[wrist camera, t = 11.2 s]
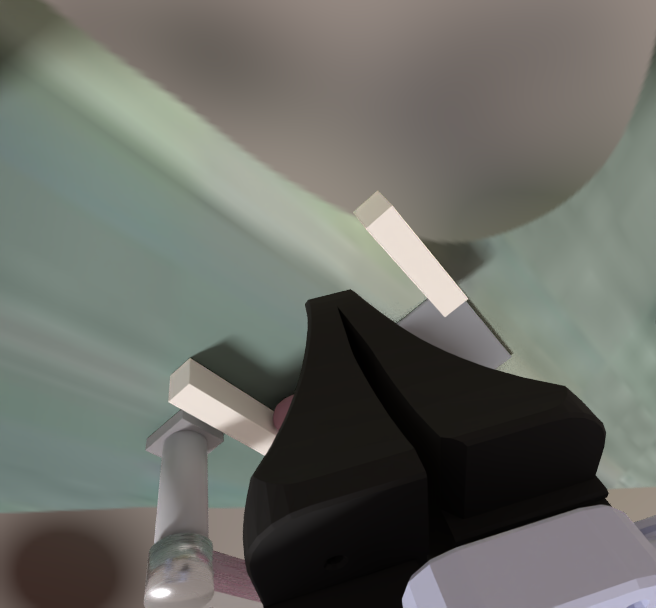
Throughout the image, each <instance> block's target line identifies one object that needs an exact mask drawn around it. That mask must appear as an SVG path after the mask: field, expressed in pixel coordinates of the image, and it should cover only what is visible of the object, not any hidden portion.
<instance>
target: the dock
mask: <svg viewBox="0 0 656 608" xmlns="http://www.w3.org/2000/svg"><path fill="white" fill-rule="evenodd" d="M353 213H354V214H355V215H356V217H357V218H358V219H359V221H360V222H361V223H362V225H363V226H364V227H365V229H366V230H367V231H368V232H369V233H370V234H371V235H372V236H373V238H374V239H375V240H376V241H377V242H378V243H379V244H380V245H381V247H382V248H383V249H384V250H385V251H386V252H387V253H388V254H389V255H390V257H391V258H392V259H393V260H394V261H395V262H396V263H397V264H398V266H399V267H400V268H401V269H402V270H403V271H404V272H405V273H406V274H407V276H408V277H409V278H410V279H411V280H412V281H413V282H414V283H415V285H416V286H417V287H418V288H419V289H420V290H421V291H422V292H423V293H424V295H425V296H426V297H427V298H428V299H429V300H430V301H431V302H432V304H433V305H434V306H435V307H436V308H437V309H438V310H439V311H440V313H441V314H442V315H443V316H444V317H446V316H447V315H449V314H450V313H451V312H452V311H454V310H455V309H456V308H457V307H459V306H460V305H461V304H462V303H464V302H465V301H466V300H468V298H467V297H466V295H465V294H464V293H463V292H462V290H461V289H460V288H459V287H458V285H457V284H456V283H455V282H454V281H453V279H452V278H451V277H450V276H449V274H448V273H447V272H446V271H445V269H444V268H443V267H442V266H441V265H440V263H439V262H438V261H437V260H436V258H435V257H434V256H433V255H432V253H431V252H430V251H429V250H428V249H427V247H426V246H425V245H424V244H423V242H422V241H421V240H420V239H419V237H418V236H417V235H416V234H415V233H414V231H413V230H412V229H411V228H410V226H409V225H408V224H407V223H406V222H405V220H404V219H403V218H402V217H401V215H400V214H399V213H398V212H397V210H396V209H395V208H394V207H393V205H391V203H390V202H389V201H387V199H386V198H385V197H384V196H383V195H382V194H381V193H380V192H379V191H376V192H375V193H374V194H373V195H372V196H371V197H370V198H368V199H367V200H366V201H365V202H364V203H363V204H362V205H361V206H359V207H358V208H357V209H356V210H355V211H354V212H353ZM168 402H169V403H171V404H173V405H175V406H176V407H178V408H180V409H181V410H180V411H179V412H177V413H176V414H175V415H174V416H173V417H172V418H170V419H169V420H168V421H167V422H166V423H165V424H164V425H162V426H161V427H160V428H159V429H158V430H157V431H155V432H154V433H153V434H152V435H151V436H150V437H149V438H147V441H146V449H145V450H146V451H148V452H150V453H153V454H155V455H157V456H159V457H161V458H162V461H161V472H160V483H159V495H158V506H157V518H156V530H155V541H154V544H155V543H156V542H158V541H159V540H161V539H163V538H165V537H167V536H170V535H174V534H179V533H196V534H200V535H203V536H205V537H207V538H208V464H207V454H208V453H210V452H211V451H212V450H213V449H215V448H216V447H217V446H218V445H219V444H221V443H222V442H223V441H224V437H223V433H225V434H227V435H229V436H230V437H232V438H234V439H236V440H238V441H239V442H241V443H243V444H245V445H247V446H249V447H250V448H252V449H254V450H256V451H258V452H259V453H261V454H263V455H266V453H267V452H268V450H269V448H270V446H271V445H272V443H273V441H274V439H275V437H276V435H277V433H278V430H277V428H276V427H275V426H274V422H273V414H274V411H273V410H271V409H269V408H268V407H266V406H265V405H263V404H262V403H260V402H258V401H257V400H255V399H254V398H252V397H251V396H249V395H247V394H246V393H244V392H243V391H241V390H240V389H238V388H236V387H235V386H233V385H232V384H230V383H229V382H227V381H225V380H224V379H222V378H221V377H219V376H218V375H216V374H215V373H213V372H211V371H210V370H208V369H207V368H205V367H204V366H202V365H200V364H199V363H197V362H196V361H194V360H193V359H191V358H189V359H188V360H187V361H186V362H185V363H184V364H183V365H182V366H180V367H179V368H178V369H177V370H176V371H175V372H174V373H173V374H171V376H170V387H169V399H168ZM208 539H209V538H208Z"/></svg>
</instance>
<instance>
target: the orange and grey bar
mask: <svg viewBox="0 0 656 608" xmlns="http://www.w3.org/2000/svg"><path fill="white" fill-rule="evenodd" d="M144 606H145V608H263V604H262V602H261V600H260V598H259V596H258V594H257V592H256V590H255V588H254V586H253V584H252V582H251V580H250V578H249V576H248V574H247V570H246V565H245V560H242V559H239V558H236V557H232V556H229V555H226V554H223V553H219V552H216V551H213V544H212V542H211V540H210V539H208V538H207V537H205V536H203V535H200V534H196V533H179V534H174V535H170V536H167V537H165V538H163V539H161V540H159V541H158V542H156V543H155V544H154V545H153V546H152V547H151V549H150V551H149V555H148V566H147V576H146V585H145V596H144Z"/></svg>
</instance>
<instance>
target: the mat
mask: <svg viewBox="0 0 656 608" xmlns="http://www.w3.org/2000/svg"><path fill="white" fill-rule="evenodd" d="M397 324H398V325H399V326H401V327H402V328H404V329H405V330H407V331H409V332H410V333H412V334H414V335H415V336H417V337H419V338H420V339H422V340H424V341H426V342H428V343H430V344H432V345H434V346H436V347H438V348H440V349H442V350H444V351H447V352H449V353H451V354H453V355H456V356H458V357H461V358H463V359H466V360H469V361H471V362H474V363H477V364H479V365H482V366H485V367H488V368H492V369H496V368H497V367H499V366H500V365H501V364H503V363H504V362H505V361H507V360H508V359H509V358H511V355H510V354H509V353H508V352H507V350H506V349H505V348H504V347H503V346H502V344H501V343H500V342H499V341H498V339H497V338H496V337H495V336H494V335H493V333H492V332H491V331H490V330H489V329H488V327H487V326H486V325H485V324H484V322H483V321H482V320H481V319H480V318H479V316H478V315H477V314H476V313H475V311H474V310H473V309H472V308H471V307H470V305H469V304H468V303H467V302H466V301H465V302H464V303H462V304H461V305H460V306H459V307H457V308H456V309H455V310H454V311H452V312H451V313H450V314H449V315H447V316H446V317H444V316H443V315H442V314H441V313H440V311H439V310H438V309H437V308H436V307H435V306H434V305H433V304H432V302H431V301H430V300H429V299H427V300H425V301H424V302H423V303H422V304H420V305H419V306H418V307H417V308H415V309H414V310H413V311H412V312H411V313H409V314H408V315H407V316H406V317H404V318H403V319H402V320H401V321H399V322H398V323H397Z"/></svg>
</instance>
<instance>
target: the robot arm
mask: <svg viewBox="0 0 656 608" xmlns="http://www.w3.org/2000/svg"><path fill="white" fill-rule="evenodd" d="M305 307H306V312H307V317H308V331H307V341H306V349H305V354H304V359H303V365H302V369H301V373H300V377H299V380H298V384H297V387H296V390H295V393H294V396H293V399H292V401H291V404H290V407H289V409H288V412H287V414H286V416H285V419H284V421H283V423H282V425H281V427H280V429H279V431H278V433H277V435H276V437H275V439H274V441H273V443H272V445H271V446H270V448H269V450H268V452H267V453H266V455H265V456H264V458H263V460H262V461H261V463H260V464H259V466H258V467H257V469H256V471H255V472H254V474H253V475H252V477H251V479H250V484H249V489H248V494H247V499H246V505H245V512H244V523H243V546H244V556H245V557H244V558H245V565H246V570H247V574H248V576H249V578H250V580H251V582H252V584H253V586H254V588H255V590H256V592H257V594H258V596H259V598H260V600H261V602H262V604H263V608H656V515H655V516H652V517H649V518H646V519H643V520H640V521H637V522H634V523H633V522H632V521H631V520H630V519H629V517H628V516H627V515H626V513H625V512H623V511H620V510H618V509H616V508H613V507H612V506H611V505H610V504H609V503H608V501H607V500H606V499H605V498H606V497H607V496H608V491H607V488H606V487H605V486H604V485H603V484H602V482H601V481H600V480H599V479H598V478H597V476H596V472H597V469H598V465H599V462H600V459H601V456H602V452H603V449H604V445H605V437H606V431H605V428H604V425H603V423H602V422H601V421H600V420H599V419H598V418H597V417H596V416H595V415H594V414H593V413H592V412H591V410H590V409H589V408H588V407H587V406H586V405H585V404H584V403H583V402H582V401H581V400H580V399H579V398H578V397H577V396H576V395H575V394H573V393H572V392H571V391H570V390H569V389H568V388H567V387H566V386H562V385H557V384H552V383H547V382H543V381H538V380H533V379H528V378H523V377H519V376H516V375H512V374H509V373H505V372H502V371H498V370H495V369H492V368H488V367H485V366H482V365H479V364H477V363H474V362H471V361H469V360H466V359H463V358H461V357H458V356H456V355H453V354H451V353H449V352H447V351H444V350H442V349H440V348H438V347H436V346H434V345H432V344H430V343H428V342H426V341H424V340H422V339H420V338H419V337H417V336H415V335H414V334H412V333H410V332H409V331H407V330H405V329H404V328H402V327H401V326H399V325H398V324H396V323H395V322H393V321H392V320H390V319H389V318H388V317H386V316H385V315H383V314H382V313H381V312H379V311H378V310H377V309H375V308H374V307H373V306H371V305H370V304H369V303H368V302H366V301H365V300H364V299H363V298H361V297H360V296H359V295H358V294H356V293H355V292H354V291H352V290H351V289H350V290H346V291H342V292H338V293H334V294H330V295H326V296H322V297H318V298H314V299H310V300H308V301H307V302H306V304H305Z"/></svg>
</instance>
